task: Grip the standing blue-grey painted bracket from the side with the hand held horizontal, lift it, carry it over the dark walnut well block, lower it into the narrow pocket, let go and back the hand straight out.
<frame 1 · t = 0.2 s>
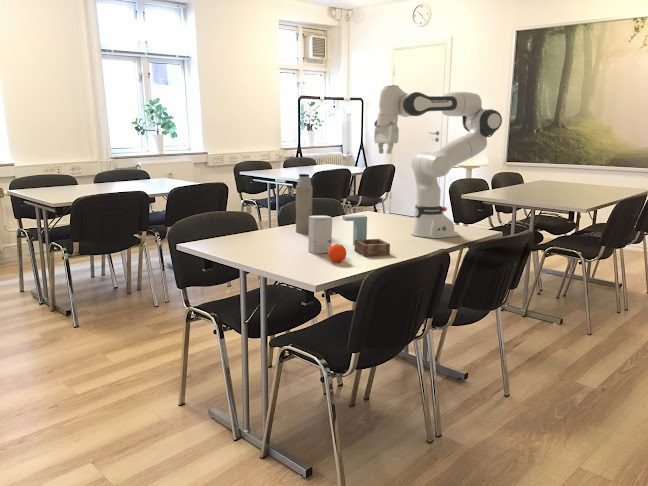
hand: (384, 153, 243), 39 cm above the table, tool pointing down, fingers open, 8 cm apart
bracket: (359, 245, 233), on the table
thermos bottle: (304, 232, 263), on the table
well block: (371, 252, 220), on the table
skincare box: (319, 252, 220), on the table
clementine: (338, 262, 204), on the table
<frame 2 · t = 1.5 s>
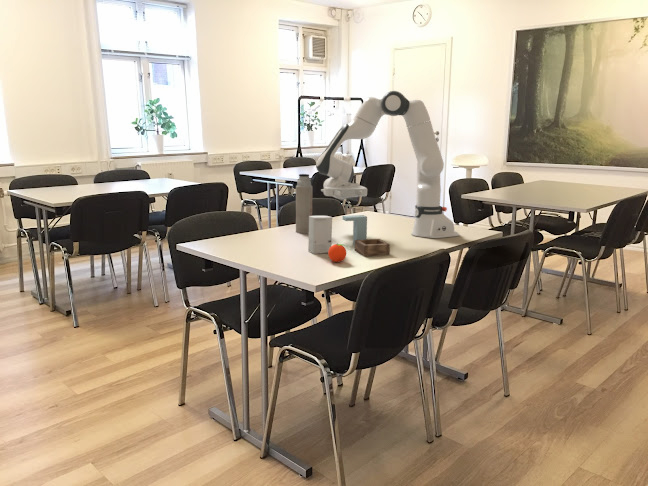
hand: (351, 193, 239), 21 cm above the table, tool horizontal, fingers open, 8 cm apart
nothing on the table moved.
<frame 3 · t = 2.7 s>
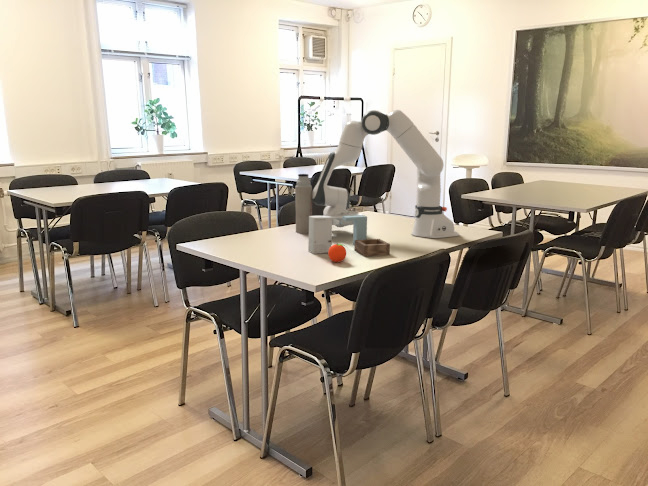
hand: (349, 222, 242), 8 cm above the table, tool horizontal, fingers open, 8 cm apart
thermos bottle: (304, 231, 263), on the table, touching arm
everything else where it was.
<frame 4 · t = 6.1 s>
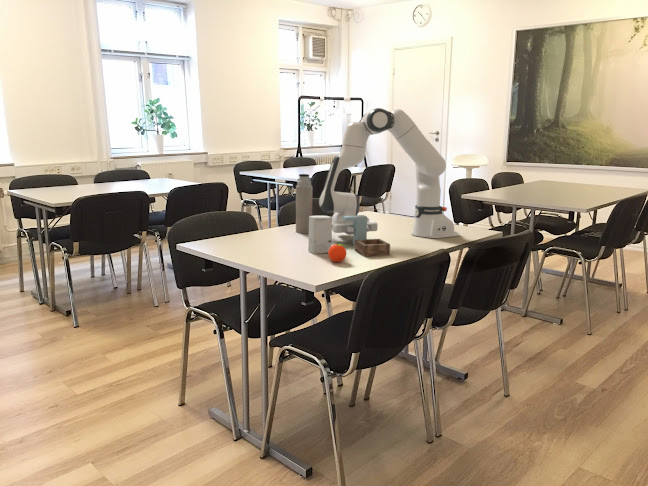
hand: (360, 230, 230), 7 cm above the table, tool horizontal, fingers closed on bracket, 4 cm apart
bracket: (359, 245, 233), on the table, touching gripper
thermos bottle: (304, 232, 263), on the table
everything else where it was.
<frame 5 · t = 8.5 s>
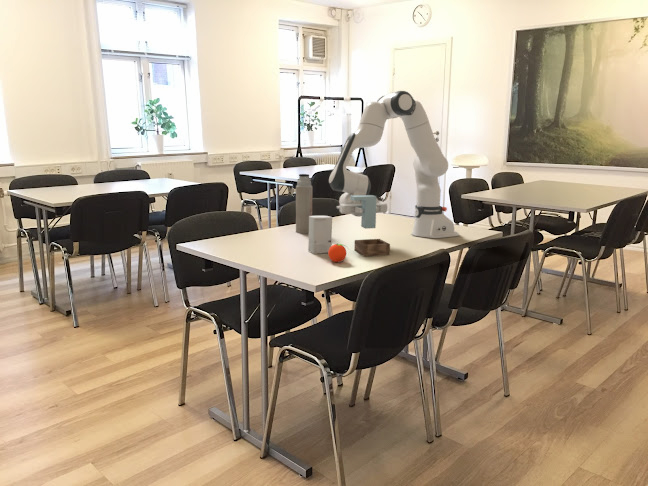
hand: (369, 210, 219), 17 cm above the table, tool horizontal, fingers closed on bracket, 4 cm apart
bracket: (368, 227, 221), point 10 cm above the table, touching gripper
everything else where it was.
when the fingers open (9 cm above the table, at t = 11.1 s): bracket drops 1 cm, resting on well block.
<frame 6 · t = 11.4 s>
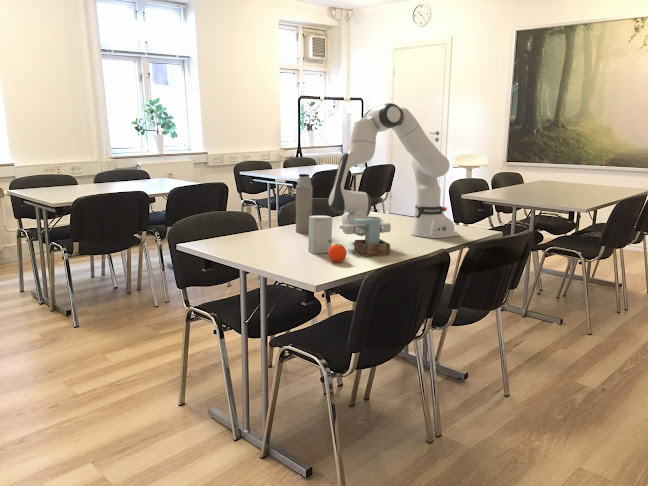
hand: (373, 231, 217), 9 cm above the table, tool horizontal, fingers open, 7 cm apart
bracket: (371, 250, 219), point 1 cm above the table, touching well block
everything else where it was.
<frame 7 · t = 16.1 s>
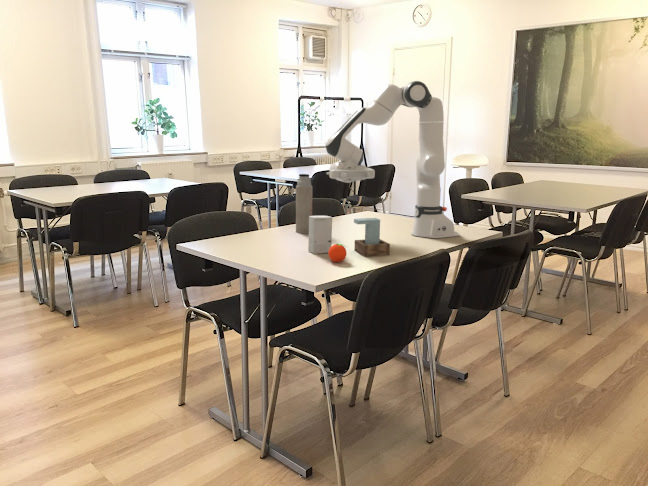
hand: (357, 175, 230), 30 cm above the table, tool horizontal, fingers open, 8 cm apart
nothing on the table moved.
at the end: bracket 0.0 cm off-centre on the well block, point 1.0 cm above the well block's base; bracket tilted 0°; the gripper is holding nothing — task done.
